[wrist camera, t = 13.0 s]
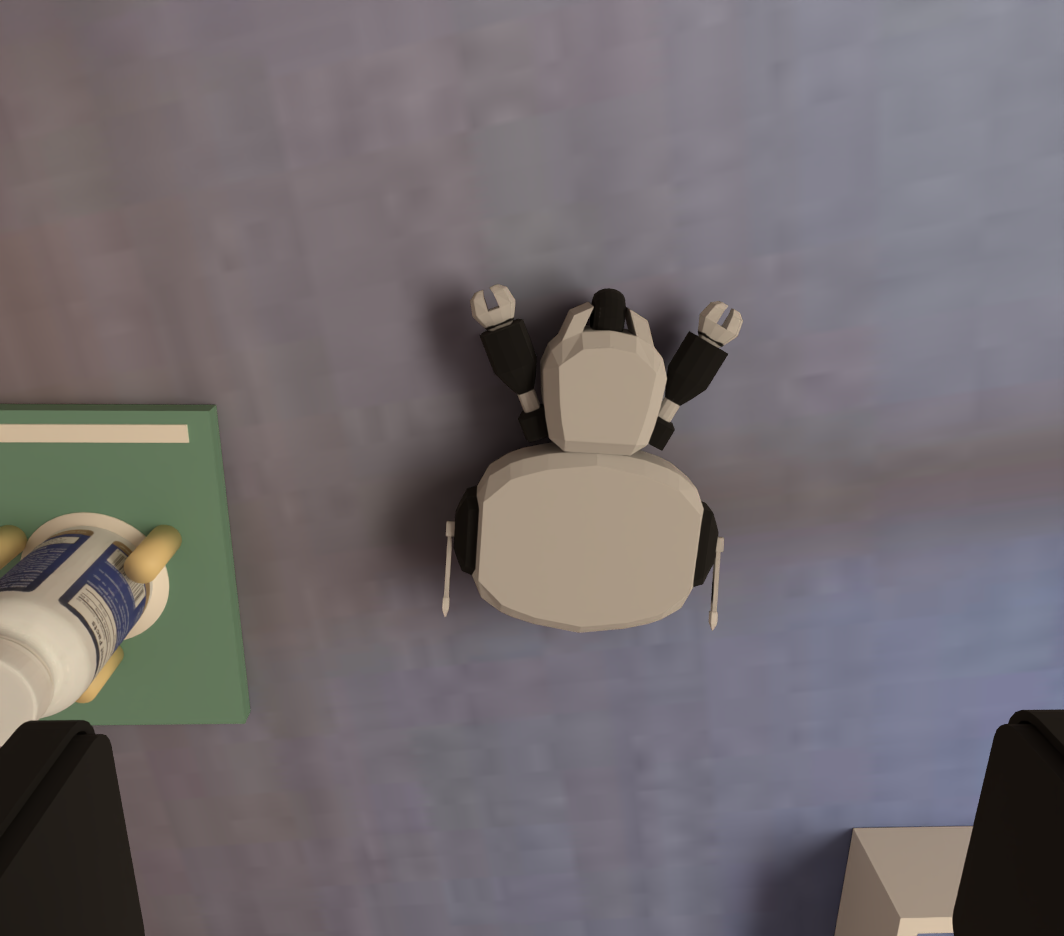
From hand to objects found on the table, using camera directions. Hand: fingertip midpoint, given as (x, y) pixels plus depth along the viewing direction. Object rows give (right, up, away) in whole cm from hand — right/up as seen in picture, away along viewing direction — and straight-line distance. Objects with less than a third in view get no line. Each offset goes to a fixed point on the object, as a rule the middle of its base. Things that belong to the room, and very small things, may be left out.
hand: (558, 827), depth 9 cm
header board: (-20, -1, +32) cm, 38 cm away
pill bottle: (-20, -1, +31) cm, 37 cm away
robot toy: (+2, +5, +31) cm, 31 cm away
